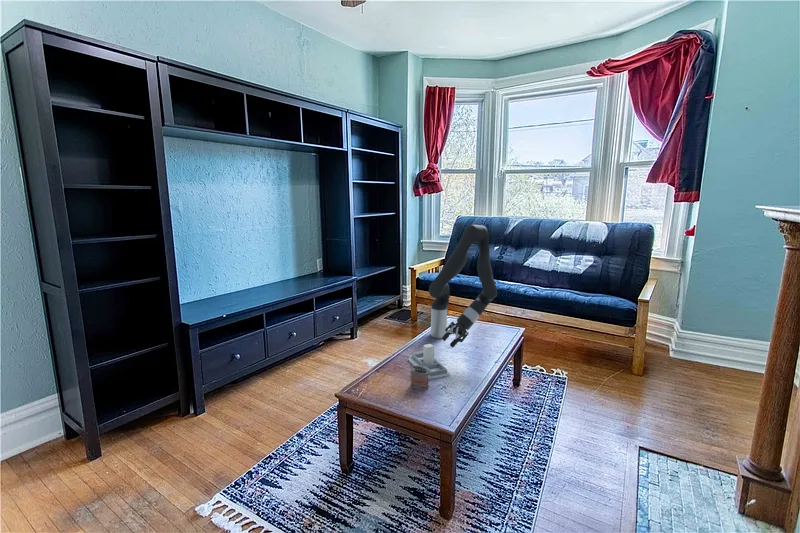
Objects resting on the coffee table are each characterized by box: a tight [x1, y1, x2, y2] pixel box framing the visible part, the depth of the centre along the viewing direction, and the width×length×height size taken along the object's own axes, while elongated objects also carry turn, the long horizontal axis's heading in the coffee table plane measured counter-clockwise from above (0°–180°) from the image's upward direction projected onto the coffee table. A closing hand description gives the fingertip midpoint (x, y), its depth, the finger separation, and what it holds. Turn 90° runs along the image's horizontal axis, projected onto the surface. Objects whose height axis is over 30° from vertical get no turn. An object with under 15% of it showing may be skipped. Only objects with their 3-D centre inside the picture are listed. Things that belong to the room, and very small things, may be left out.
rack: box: [408, 351, 451, 380], centre depth 189 cm, size 22×12×3 cm, turn 22°
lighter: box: [410, 365, 430, 391], centre depth 169 cm, size 8×3×10 cm, turn 71°
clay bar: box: [422, 343, 435, 365], centre depth 188 cm, size 4×4×10 cm
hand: (446, 343), depth 191 cm, fingers open, 8 cm apart
